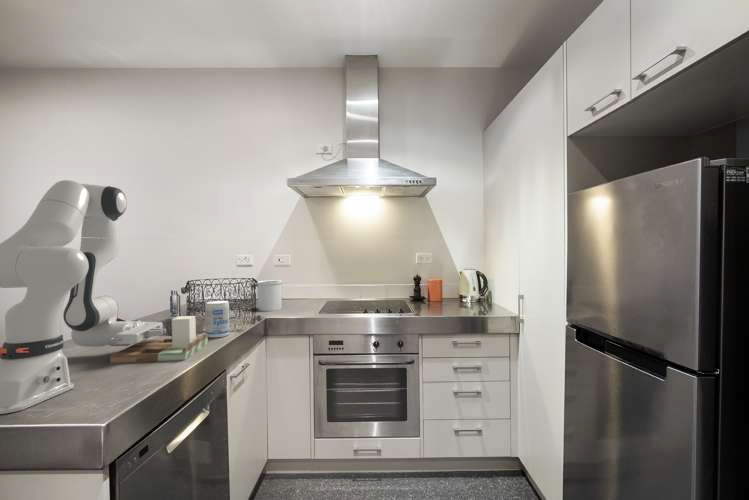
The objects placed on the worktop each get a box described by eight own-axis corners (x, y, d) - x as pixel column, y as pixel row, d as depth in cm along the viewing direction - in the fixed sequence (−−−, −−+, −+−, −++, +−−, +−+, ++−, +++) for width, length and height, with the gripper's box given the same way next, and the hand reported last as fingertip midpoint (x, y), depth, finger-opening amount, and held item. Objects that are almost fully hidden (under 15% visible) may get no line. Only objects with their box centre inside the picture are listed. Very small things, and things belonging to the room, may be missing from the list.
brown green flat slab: (185, 359, 126) (185, 348, 126) (110, 363, 124) (110, 351, 123) (207, 343, 148) (207, 333, 148) (144, 346, 145) (143, 335, 145)
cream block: (189, 346, 134) (189, 318, 134) (172, 347, 133) (171, 319, 133) (195, 342, 140) (195, 315, 140) (179, 342, 139) (178, 316, 139)
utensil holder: (278, 311, 221) (278, 282, 221) (254, 311, 221) (253, 282, 221) (285, 307, 236) (284, 279, 236) (262, 307, 236) (261, 280, 236)
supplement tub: (215, 339, 154) (214, 304, 154) (200, 337, 159) (200, 302, 159) (234, 334, 163) (233, 301, 163) (220, 332, 167) (219, 299, 167)
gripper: (106, 331, 124) (149, 329, 125) (138, 319, 144) (175, 318, 146) (106, 350, 124) (150, 348, 125) (139, 335, 144) (176, 334, 146)
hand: (164, 331), depth 136 cm, fingers closed
